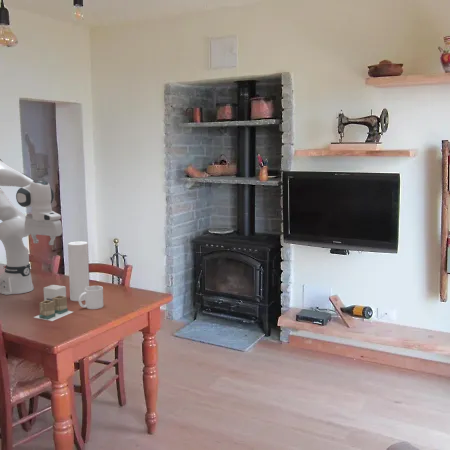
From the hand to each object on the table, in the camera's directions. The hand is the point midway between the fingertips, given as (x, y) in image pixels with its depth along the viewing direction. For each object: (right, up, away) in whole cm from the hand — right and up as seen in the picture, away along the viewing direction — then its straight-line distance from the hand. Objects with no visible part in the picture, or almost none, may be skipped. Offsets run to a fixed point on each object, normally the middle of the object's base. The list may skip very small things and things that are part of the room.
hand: (43, 244), depth 244 cm
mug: (+22, -32, +3) cm, 38 cm away
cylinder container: (+13, -29, +16) cm, 36 cm away
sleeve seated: (+9, -31, -5) cm, 33 cm away
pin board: (+8, -33, -9) cm, 35 cm away
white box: (+3, -30, +9) cm, 32 cm away
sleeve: (+6, -32, -12) cm, 35 cm away
